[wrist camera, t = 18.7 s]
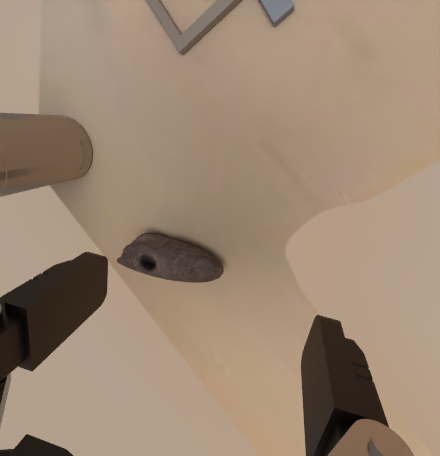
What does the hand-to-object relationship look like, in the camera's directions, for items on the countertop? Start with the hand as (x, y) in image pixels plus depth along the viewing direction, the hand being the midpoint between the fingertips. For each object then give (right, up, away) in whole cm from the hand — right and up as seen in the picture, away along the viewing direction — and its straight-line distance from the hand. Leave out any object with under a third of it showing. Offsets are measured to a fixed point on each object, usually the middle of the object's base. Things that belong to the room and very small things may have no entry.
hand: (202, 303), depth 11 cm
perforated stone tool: (-5, -1, +35) cm, 35 cm away
